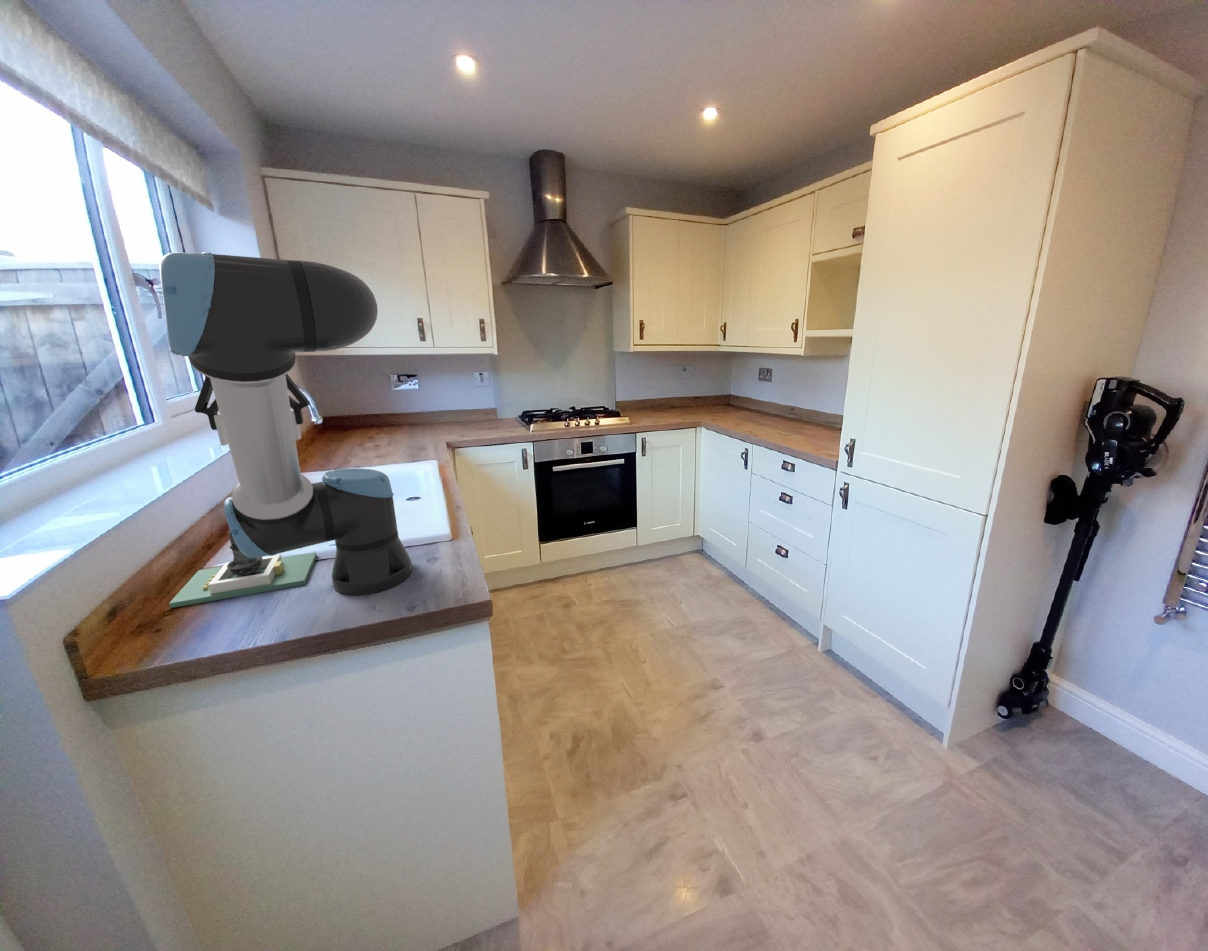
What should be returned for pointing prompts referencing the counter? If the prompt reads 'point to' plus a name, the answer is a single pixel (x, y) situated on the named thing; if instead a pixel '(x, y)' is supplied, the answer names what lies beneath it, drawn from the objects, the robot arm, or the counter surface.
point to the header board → (245, 580)
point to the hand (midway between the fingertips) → (262, 441)
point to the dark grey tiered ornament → (243, 562)
